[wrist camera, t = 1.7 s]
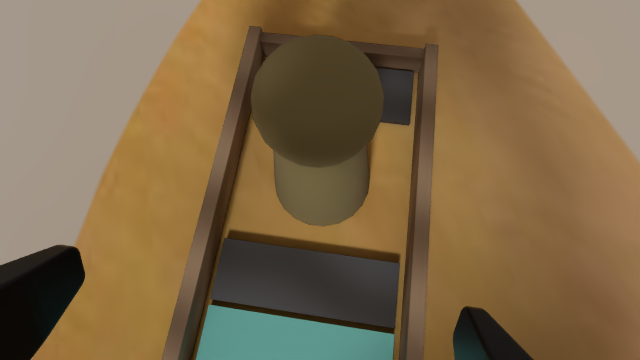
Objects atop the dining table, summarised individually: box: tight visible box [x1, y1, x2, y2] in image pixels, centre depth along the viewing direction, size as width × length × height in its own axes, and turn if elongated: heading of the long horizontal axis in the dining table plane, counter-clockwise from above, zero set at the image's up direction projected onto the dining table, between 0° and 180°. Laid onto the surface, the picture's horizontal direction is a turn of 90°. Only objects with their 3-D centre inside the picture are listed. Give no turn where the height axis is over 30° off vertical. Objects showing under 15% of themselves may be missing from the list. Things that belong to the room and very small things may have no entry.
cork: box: [251, 35, 384, 226], centre depth 18 cm, size 6×6×11 cm
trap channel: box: [162, 26, 438, 360], centre depth 21 cm, size 26×13×2 cm, turn 172°
